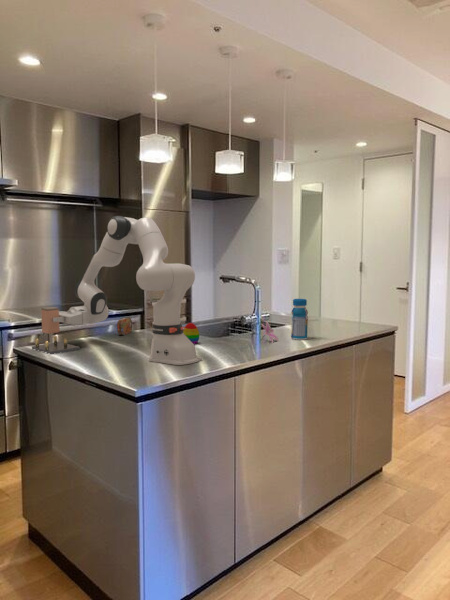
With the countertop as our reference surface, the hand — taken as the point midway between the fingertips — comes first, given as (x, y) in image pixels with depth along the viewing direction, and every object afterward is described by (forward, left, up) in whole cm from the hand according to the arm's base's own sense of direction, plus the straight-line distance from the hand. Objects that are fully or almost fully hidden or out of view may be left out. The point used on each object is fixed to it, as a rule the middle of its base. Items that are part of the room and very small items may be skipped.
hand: (48, 319), depth 217 cm
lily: (-63, -81, -14) cm, 103 cm away
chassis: (-2, -2, -14) cm, 14 cm away
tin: (+9, -48, -14) cm, 51 cm away
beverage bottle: (-70, -97, -14) cm, 120 cm away
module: (0, -1, -6) cm, 6 cm away
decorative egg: (-38, -52, -14) cm, 66 cm away
